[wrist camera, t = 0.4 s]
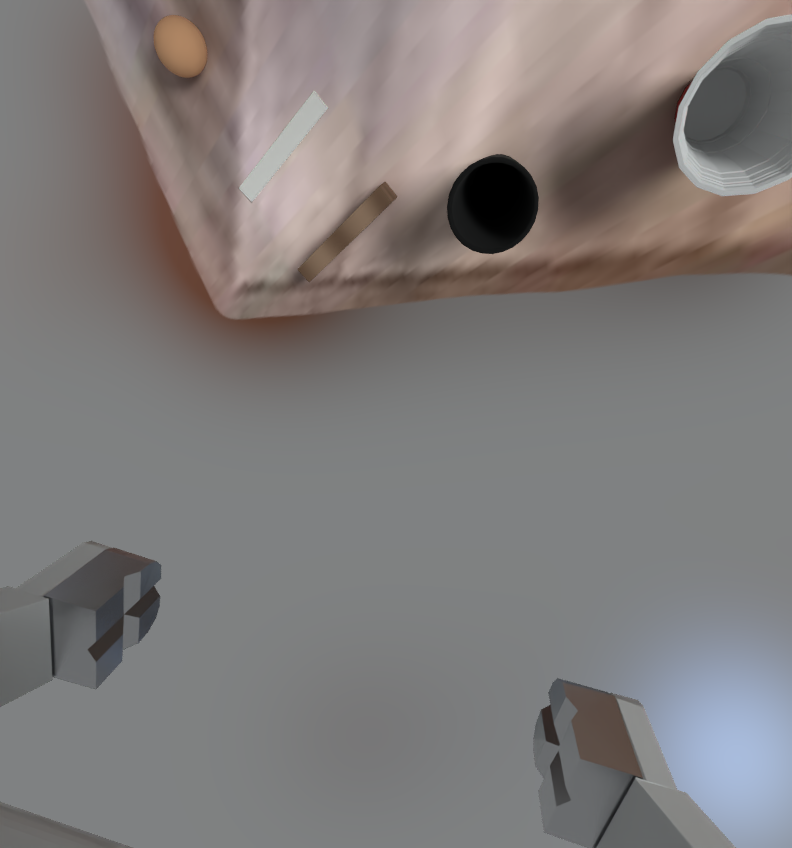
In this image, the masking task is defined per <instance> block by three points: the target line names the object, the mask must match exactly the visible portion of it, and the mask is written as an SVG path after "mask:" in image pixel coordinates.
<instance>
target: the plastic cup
mask: <svg viewBox="0 0 792 848" xmlns="http://www.w3.org/2000/svg"><path fill="white" fill-rule="evenodd" d="M675 123H676V125H675V130H674V135H673V143H674V148H675V152H676V156H677V161H678V165H679V168H680V169H681V170H682V171H683V173H684V174H685V175H686V176H687V177H688V178H689V179H690V180H691V181H692V183H693V184H694V185H695V186H696V187H698V188H701V189H703V190H706V191H709V192H712V193H715V194H718V195H721V196H731V195H744V194H755V193H757V192H760V191H762V190H765V189H767V188H770V187H772V186H774V185H777V184H779V183H782V182H784V181H787V180H789V179H790V178H792V14H791V15H785V16H780V17H774V18H768V19H766V20H764V21H762V22H760V23H758V24H757V25H755V26H753V27H751V28H750V29H748V30H746V31H744V32H742V33H741V34H739V35H737V36H735V37H733V38H732V39H730V40H728V41H727V42H726V43H725V44H724V45H723V46H722V47H721V49H720V50H719V51H718V52H717V53H716V54H715V55H714V56H713V57H712V58H711V59H710V60H709V61H708V62H707V63H706V64H705V65H704V66H703V67H702V68H701V69H700V70H699V71H698V72H697V74H696V76H695V78H694V80H693V81H692V82H691V83H690V84H689V85H688V86H687V87H686V88H685V90H684V92H683V94H682V95H681V97H680V99H679V101H678V103H677V108H676V113H675Z"/></svg>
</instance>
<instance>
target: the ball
mask: <svg viewBox="0 0 792 848" xmlns="http://www.w3.org/2000/svg"><path fill="white" fill-rule="evenodd" d="M154 46H155V50H156V53H157V55H158V57H159V59H160V60H161V62H162V63H163V64H164V66H165V67H166V68H167V69H168V70H169V71H171V72H172V73H174V74H175V75H178V76H180V77H185V78H191V77H194V76H197V75H198V74H200V73H201V72H202V70H203V69H204V67H205V65H206V62H207V47H206V43H205V40H204V38H203V36H202V34H201V33H200V31H199V30H198V28H197V27H196V26H195V25H194V24H193V23H192V22H191V21H189V20H188V19H186V18H184V17H181V16H178V15H169V16H166V17H164V18H163V19H161V20H160V21H159V22H158V24H157V26H156V28H155V31H154Z"/></svg>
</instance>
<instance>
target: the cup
mask: <svg viewBox="0 0 792 848" xmlns="http://www.w3.org/2000/svg"><path fill="white" fill-rule="evenodd" d="M538 199H539V198H538V192H537V187H536V184H535V182H534V180H533V178H532V176H531V175H530V174H529V172H528V171H527V170H526V169H525V168H524V167H523V166H522V165H521V164H519V163H518V162H517V161H515V160H514V159H512V158H511V157H509V156H506V155H503V154H496V155H492V156H489V157H486V158H483V159H481V160H479V161H477V162H475V163H473V164H471V165H470V166H468V167H467V168H466V169H465V170H464V171H463V172H462V173H461V174H460V175H459V177H458V178H457V179H456V181H455V182H454V184H453V186H452V189H451V191H450V194H449V198H448V204H447V213H448V220H449V224H450V227H451V229H452V231H453V233H454V235H455V236H456V238H457V239H458V240H459V241H460V242H461V243H462V244H463V245H464V246H466V247H468V248H469V249H471V250H473V251H476V252H479V253H486V254H494V253H499V252H503V251H506V250H508V249H510V248H512V247H514V246H515V245H516V244H518V243H519V242H520V241H522V240H523V238H524V237H525V236H526V235H527V234H528V233H529V231H530V229H531V227H532V226H533V224H534V222H535V219H536V215H537V212H538Z"/></svg>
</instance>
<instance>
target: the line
mask: <svg viewBox="0 0 792 848" xmlns="http://www.w3.org/2000/svg"><path fill="white" fill-rule="evenodd" d="M327 109H328V107H327V106H326V105H325V103H324V102H323V101H322V100H321V98H320V97H319V96H318V95H317V93H316V92H315V91H313V93H312V94H311V95H310V97H309V98H308V99H307V100H306V102H305V103H304V104H303V106H302V107H301V108H300V110H299V111H298V112H297V113H296V115H295V116H294V117H293V119H292V120H291V121H290V123H289V124H288V125H287V126H286V128H285V129H284V130H283V132H282V133H281V134H280V135H279V137H278V138H277V139H276V141H275V142H274V143H273V145H272V146H271V147H270V148H269V150H268V151H267V152H266V154H265V155H264V156H263V158H262V159H261V160H260V161H259V163H258V164H257V165H256V167H255V168H254V169H253V171H252V172H251V173H250V174H249V176H248V177H247V178H246V180H245V181H244V182H243V184H242V185H241V186H240V187H239V189H240V190H241V191H242V192H243V193H244V194H245V196H246V197H247V198H248V199H249V200H250V201H251V202H253V200H254V199H255V198H256V197H257V196H258V194H259V193H260V192H261V191H262V189H263V188H264V187H265V186H266V184H267V183H268V182H269V181H270V179H271V178H272V177H273V176H274V174H275V173H276V172H277V171H278V170H279V168H280V167H281V166H282V165H283V163H284V162H285V161H286V160H287V158H288V157H289V156H290V155H291V153H292V152H293V151H294V150H295V148H296V147H297V146H298V145H299V144H300V142H301V141H302V140H303V139H304V137H305V136H306V135H307V134H308V132H309V131H310V130H311V129H312V127H313V126H314V125H315V124H316V122H317V121H318V120H319V119H320V118H321V116H322V115H323V114H324V113H325V111H326V110H327Z"/></svg>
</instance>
